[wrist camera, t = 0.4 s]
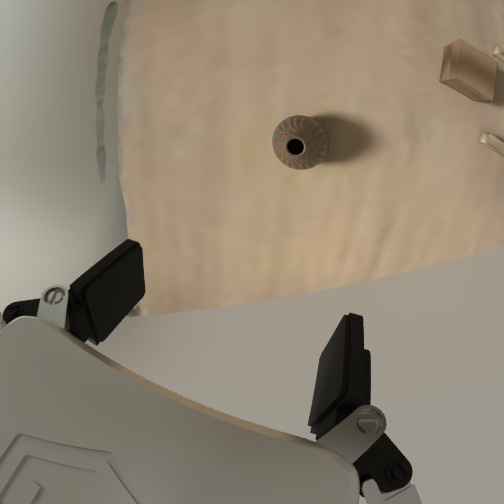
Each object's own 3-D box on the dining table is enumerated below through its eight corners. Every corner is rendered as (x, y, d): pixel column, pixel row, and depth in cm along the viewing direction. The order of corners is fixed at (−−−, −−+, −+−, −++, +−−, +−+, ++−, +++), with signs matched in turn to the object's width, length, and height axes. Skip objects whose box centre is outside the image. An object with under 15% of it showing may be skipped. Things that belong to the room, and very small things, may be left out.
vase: (339, 140, 33) (341, 147, 25) (305, 173, 36) (297, 190, 29) (301, 105, 32) (292, 102, 24) (268, 140, 35) (250, 148, 28)
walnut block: (444, 47, 21) (460, 38, 16) (477, 66, 20) (497, 62, 15) (439, 81, 24) (456, 77, 19) (472, 100, 23) (492, 100, 18)
